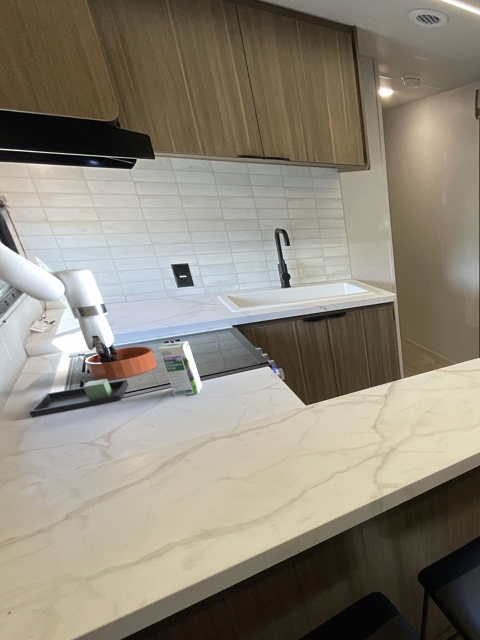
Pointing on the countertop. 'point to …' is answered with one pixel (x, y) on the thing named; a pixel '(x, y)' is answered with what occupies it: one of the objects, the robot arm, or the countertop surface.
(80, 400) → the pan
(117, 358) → the walnut block
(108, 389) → the sage block
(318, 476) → the countertop surface
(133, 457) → the countertop surface
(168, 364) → the syrup box
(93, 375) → the bowl
